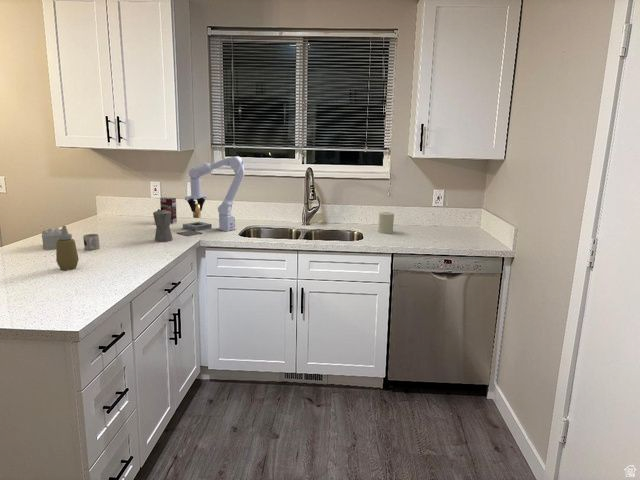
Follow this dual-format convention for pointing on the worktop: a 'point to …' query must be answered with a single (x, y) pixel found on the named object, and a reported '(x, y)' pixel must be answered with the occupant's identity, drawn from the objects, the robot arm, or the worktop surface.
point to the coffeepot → (162, 225)
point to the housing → (197, 226)
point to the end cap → (197, 211)
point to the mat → (189, 233)
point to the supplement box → (169, 207)
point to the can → (386, 222)
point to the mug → (91, 242)
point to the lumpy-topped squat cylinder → (50, 238)
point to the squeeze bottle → (66, 251)
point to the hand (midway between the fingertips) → (196, 211)
